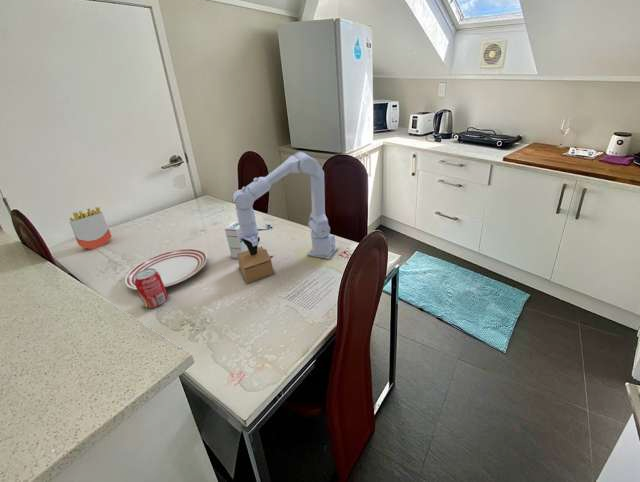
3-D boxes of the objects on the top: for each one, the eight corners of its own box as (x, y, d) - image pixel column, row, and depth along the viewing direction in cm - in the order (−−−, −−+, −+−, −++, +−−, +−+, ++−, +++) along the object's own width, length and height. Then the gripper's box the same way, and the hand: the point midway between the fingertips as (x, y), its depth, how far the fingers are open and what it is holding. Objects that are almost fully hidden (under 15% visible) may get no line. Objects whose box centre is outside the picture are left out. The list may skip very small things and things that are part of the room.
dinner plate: (117, 276, 120) (114, 269, 119) (192, 246, 139) (190, 240, 138) (140, 308, 104) (137, 300, 103) (221, 269, 123) (219, 262, 122)
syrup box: (243, 259, 130) (237, 228, 124) (231, 257, 131) (223, 227, 125) (251, 251, 135) (245, 222, 129) (239, 250, 136) (232, 221, 130)
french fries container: (80, 249, 139) (63, 212, 132) (109, 238, 147) (95, 203, 140) (84, 252, 137) (67, 215, 129) (113, 241, 145) (99, 206, 138)
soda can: (151, 296, 110) (140, 267, 105) (172, 294, 110) (162, 266, 105) (139, 310, 103) (127, 281, 98) (161, 308, 104) (150, 279, 99)
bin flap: (270, 260, 118) (270, 259, 118) (244, 268, 113) (244, 268, 113) (265, 249, 121) (265, 248, 121) (239, 257, 116) (239, 256, 116)
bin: (273, 273, 121) (271, 259, 118) (247, 283, 116) (244, 268, 113) (264, 259, 129) (261, 246, 127) (239, 267, 124) (236, 253, 122)
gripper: (231, 217, 116) (238, 248, 121) (240, 233, 105) (247, 266, 110) (250, 212, 120) (256, 243, 125) (261, 227, 109) (267, 260, 114)
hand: (253, 254), depth 118 cm, fingers closed
